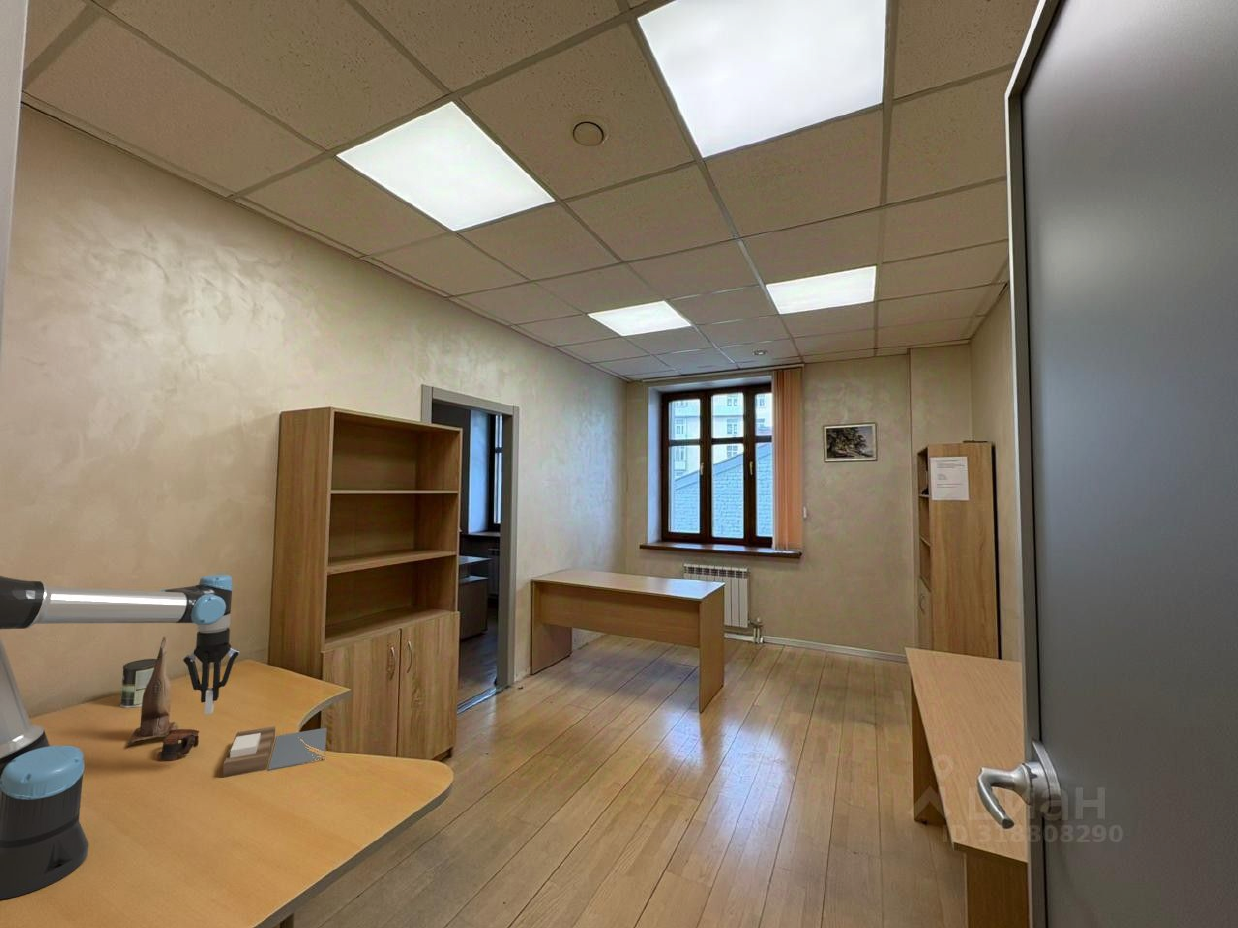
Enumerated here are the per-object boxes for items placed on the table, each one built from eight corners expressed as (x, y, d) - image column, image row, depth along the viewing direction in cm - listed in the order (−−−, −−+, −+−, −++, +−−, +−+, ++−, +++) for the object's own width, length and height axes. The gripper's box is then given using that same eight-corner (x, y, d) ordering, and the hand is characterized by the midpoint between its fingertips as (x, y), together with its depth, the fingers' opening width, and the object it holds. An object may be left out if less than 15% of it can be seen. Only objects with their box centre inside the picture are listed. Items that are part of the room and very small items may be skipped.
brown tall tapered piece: (125, 751, 155) (134, 645, 156) (132, 735, 165) (140, 634, 166) (174, 742, 162) (182, 640, 163) (178, 726, 171) (185, 630, 172)
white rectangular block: (255, 753, 148) (256, 746, 148) (230, 757, 145) (230, 750, 146) (260, 739, 156) (260, 732, 156) (236, 743, 153) (236, 736, 154)
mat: (324, 759, 153) (324, 758, 153) (267, 770, 147) (267, 769, 147) (326, 728, 173) (326, 727, 173) (276, 736, 166) (277, 735, 166)
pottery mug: (146, 761, 151) (159, 729, 155) (180, 762, 158) (191, 732, 163) (172, 758, 147) (185, 726, 151) (206, 760, 154) (217, 729, 159)
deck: (266, 769, 147) (267, 755, 147) (222, 777, 143) (223, 762, 143) (274, 738, 165) (275, 725, 165) (236, 745, 160) (237, 731, 160)
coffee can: (114, 709, 182) (117, 669, 183) (127, 698, 191) (130, 660, 192) (151, 705, 186) (154, 666, 187) (162, 694, 196) (165, 657, 196)
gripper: (243, 623, 155) (239, 703, 154) (188, 628, 148) (183, 711, 147) (239, 630, 148) (234, 713, 147) (181, 635, 142) (176, 722, 141)
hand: (209, 712), depth 147 cm, fingers closed
